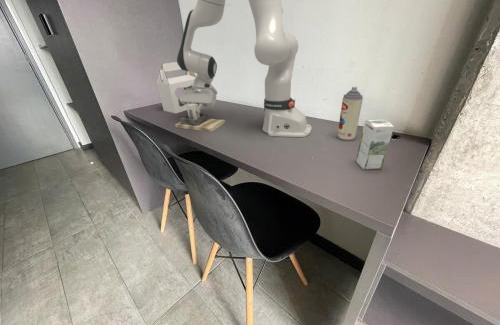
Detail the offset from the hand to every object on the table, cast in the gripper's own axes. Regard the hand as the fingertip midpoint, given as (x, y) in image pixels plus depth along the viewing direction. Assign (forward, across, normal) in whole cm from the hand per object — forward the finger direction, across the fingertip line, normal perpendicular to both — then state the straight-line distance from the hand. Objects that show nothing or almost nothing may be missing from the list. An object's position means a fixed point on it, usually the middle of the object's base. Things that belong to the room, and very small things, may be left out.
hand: (193, 112), depth 112 cm
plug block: (+3, 0, +4) cm, 5 cm away
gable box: (-13, -29, +23) cm, 39 cm away
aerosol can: (+2, +73, +8) cm, 74 cm away
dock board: (+4, +3, +5) cm, 7 cm away
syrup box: (+17, +81, -7) cm, 83 cm away
